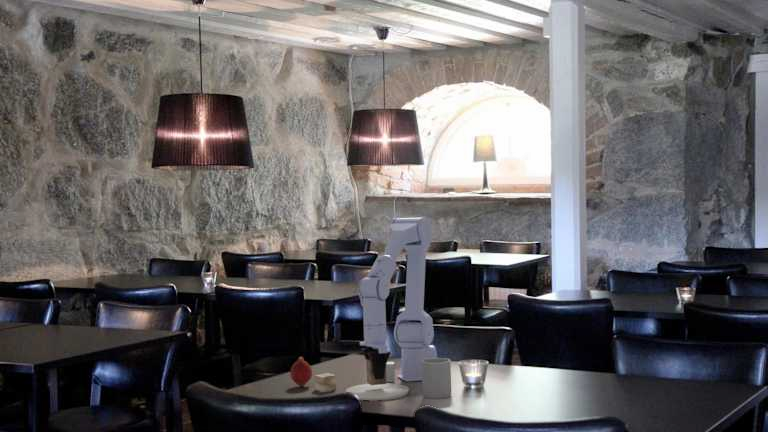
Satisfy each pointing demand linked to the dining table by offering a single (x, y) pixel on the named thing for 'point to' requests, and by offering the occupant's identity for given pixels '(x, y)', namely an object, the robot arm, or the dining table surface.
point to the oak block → (325, 382)
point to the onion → (301, 372)
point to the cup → (436, 378)
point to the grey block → (390, 372)
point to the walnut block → (370, 375)
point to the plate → (379, 391)
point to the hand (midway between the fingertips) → (376, 377)
